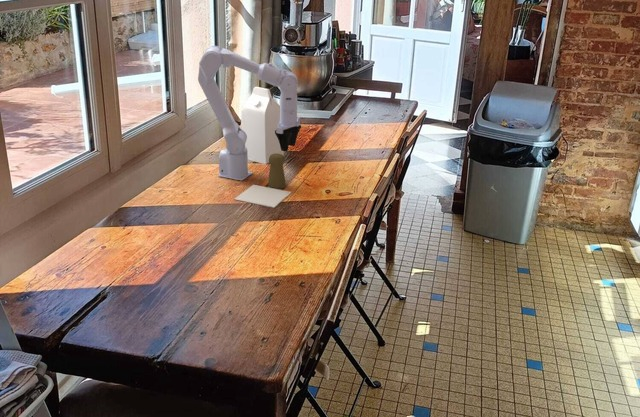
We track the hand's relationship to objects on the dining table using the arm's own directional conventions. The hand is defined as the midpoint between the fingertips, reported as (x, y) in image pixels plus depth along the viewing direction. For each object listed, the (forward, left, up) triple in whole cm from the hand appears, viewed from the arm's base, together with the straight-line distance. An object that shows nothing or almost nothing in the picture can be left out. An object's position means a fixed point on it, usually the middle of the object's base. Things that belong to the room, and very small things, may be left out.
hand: (288, 148), depth 210 cm
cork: (0, -9, -11) cm, 14 cm away
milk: (-17, +14, -11) cm, 24 cm away
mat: (0, -19, -10) cm, 22 cm away
